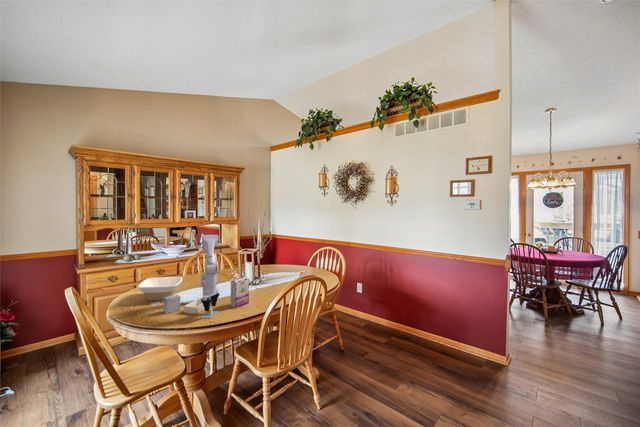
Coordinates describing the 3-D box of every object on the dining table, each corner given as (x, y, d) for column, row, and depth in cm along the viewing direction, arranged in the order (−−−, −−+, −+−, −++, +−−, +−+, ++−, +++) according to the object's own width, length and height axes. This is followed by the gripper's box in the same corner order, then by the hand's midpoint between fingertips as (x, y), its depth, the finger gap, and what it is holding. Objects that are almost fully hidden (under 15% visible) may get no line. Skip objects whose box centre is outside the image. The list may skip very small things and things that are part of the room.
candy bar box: (243, 301, 180) (244, 276, 180) (248, 303, 177) (249, 278, 177) (229, 306, 171) (230, 280, 170) (235, 308, 168) (236, 281, 167)
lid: (209, 312, 163) (209, 305, 162) (218, 312, 162) (218, 306, 162) (200, 318, 153) (200, 311, 152) (210, 319, 152) (210, 312, 152)
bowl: (177, 302, 175) (177, 285, 175) (133, 305, 168) (133, 287, 168) (184, 290, 198) (184, 276, 198) (146, 292, 191) (146, 277, 191)
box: (197, 305, 170) (197, 299, 170) (208, 307, 169) (208, 300, 169) (183, 312, 159) (183, 306, 159) (195, 314, 157) (195, 307, 157)
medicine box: (177, 308, 165) (177, 294, 165) (180, 310, 162) (180, 296, 162) (163, 312, 159) (163, 297, 159) (166, 314, 156) (166, 299, 156)
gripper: (210, 281, 164) (210, 303, 165) (197, 288, 150) (196, 313, 150) (221, 281, 164) (221, 304, 164) (209, 289, 149) (209, 313, 150)
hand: (210, 308), depth 157 cm, fingers open, 7 cm apart
